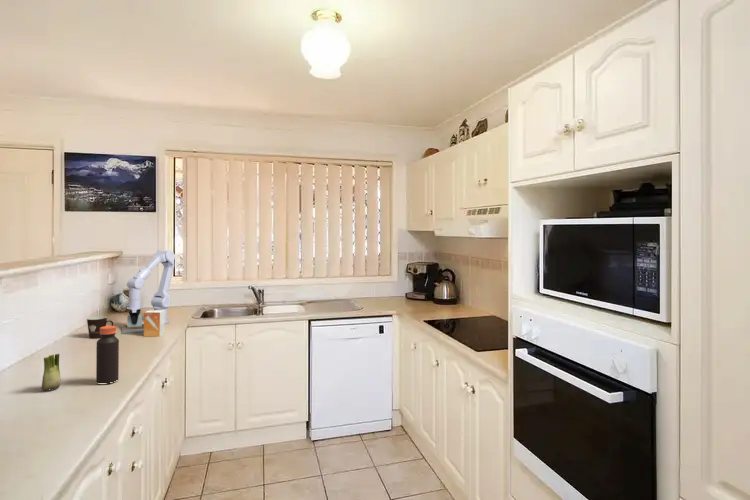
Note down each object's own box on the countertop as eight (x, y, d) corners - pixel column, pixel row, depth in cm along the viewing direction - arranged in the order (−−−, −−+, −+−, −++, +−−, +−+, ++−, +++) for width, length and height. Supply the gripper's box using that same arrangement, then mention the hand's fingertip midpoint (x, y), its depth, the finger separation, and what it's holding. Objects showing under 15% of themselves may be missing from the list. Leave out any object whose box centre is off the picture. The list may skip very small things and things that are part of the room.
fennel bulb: (58, 385, 143) (58, 351, 142) (64, 388, 140) (65, 354, 140) (38, 390, 138) (38, 355, 137) (44, 393, 135) (44, 358, 135)
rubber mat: (122, 330, 224) (122, 329, 224) (145, 329, 229) (145, 328, 229) (121, 334, 217) (121, 333, 217) (145, 332, 222) (145, 331, 222)
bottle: (101, 386, 143) (102, 330, 142) (92, 382, 146) (92, 327, 146) (122, 381, 148) (122, 326, 148) (112, 377, 152) (113, 324, 151)
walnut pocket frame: (122, 327, 232) (123, 325, 232) (147, 325, 238) (147, 323, 238) (121, 330, 224) (121, 328, 224) (146, 328, 230) (146, 326, 230)
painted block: (127, 325, 231) (127, 315, 231) (141, 324, 234) (142, 314, 234) (127, 327, 228) (127, 316, 227) (141, 326, 231) (141, 315, 231)
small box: (143, 336, 212) (143, 312, 212) (148, 334, 218) (148, 310, 218) (159, 336, 213) (160, 312, 213) (164, 334, 219) (164, 310, 219)
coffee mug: (82, 338, 207) (82, 318, 206) (99, 334, 215) (99, 315, 214) (98, 340, 202) (98, 320, 202) (114, 337, 210) (114, 317, 210)
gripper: (127, 297, 235) (127, 321, 235) (125, 301, 222) (125, 326, 222) (141, 297, 238) (141, 320, 239) (140, 301, 225) (140, 325, 226)
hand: (134, 323), depth 231 cm, fingers closed on painted block, 4 cm apart
